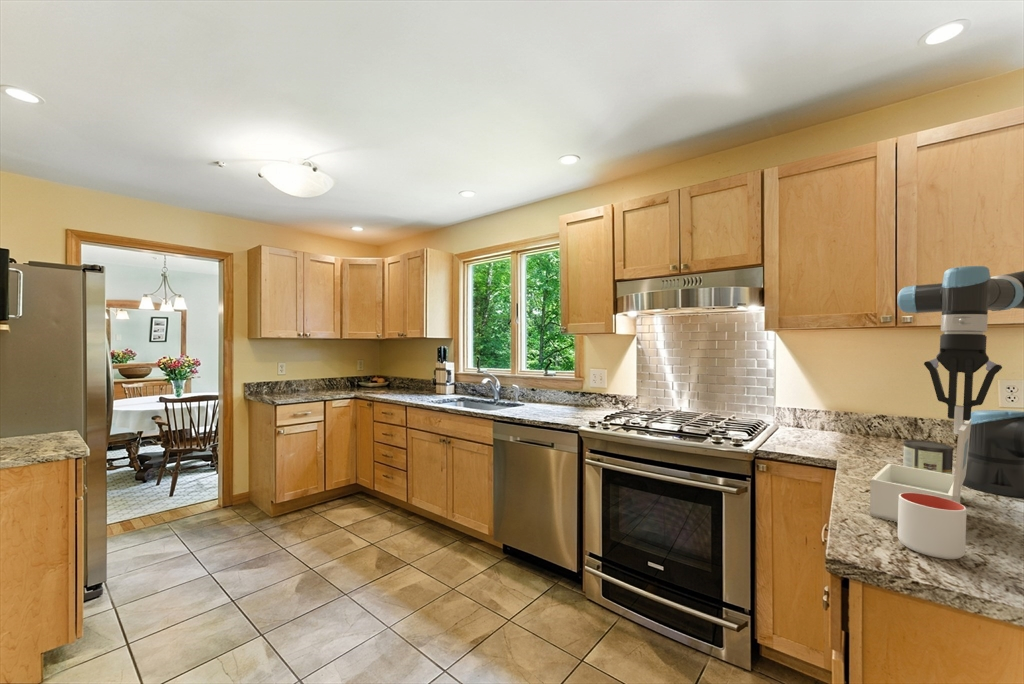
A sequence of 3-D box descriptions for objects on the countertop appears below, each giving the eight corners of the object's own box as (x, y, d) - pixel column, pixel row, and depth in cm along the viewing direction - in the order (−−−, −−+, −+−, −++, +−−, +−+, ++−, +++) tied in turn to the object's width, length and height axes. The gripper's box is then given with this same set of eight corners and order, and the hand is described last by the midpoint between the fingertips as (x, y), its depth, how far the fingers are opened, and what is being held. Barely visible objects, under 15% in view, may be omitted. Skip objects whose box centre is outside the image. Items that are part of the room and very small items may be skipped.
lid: (958, 429, 94) (964, 430, 93) (966, 418, 109) (972, 419, 108) (952, 494, 95) (958, 496, 94) (961, 474, 109) (966, 476, 109)
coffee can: (933, 489, 126) (935, 440, 126) (962, 502, 116) (964, 449, 116) (892, 486, 128) (894, 438, 128) (917, 498, 118) (919, 447, 118)
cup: (949, 566, 82) (951, 514, 82) (886, 542, 92) (888, 495, 91) (975, 556, 86) (976, 506, 86) (912, 535, 96) (914, 490, 95)
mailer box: (869, 515, 106) (870, 479, 105) (887, 495, 120) (888, 463, 120) (951, 536, 95) (952, 495, 95) (959, 511, 109) (961, 476, 109)
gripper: (922, 332, 104) (918, 430, 104) (1004, 333, 94) (999, 441, 94) (927, 333, 109) (923, 426, 109) (1005, 334, 99) (1000, 436, 99)
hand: (958, 433), depth 102 cm, fingers closed
